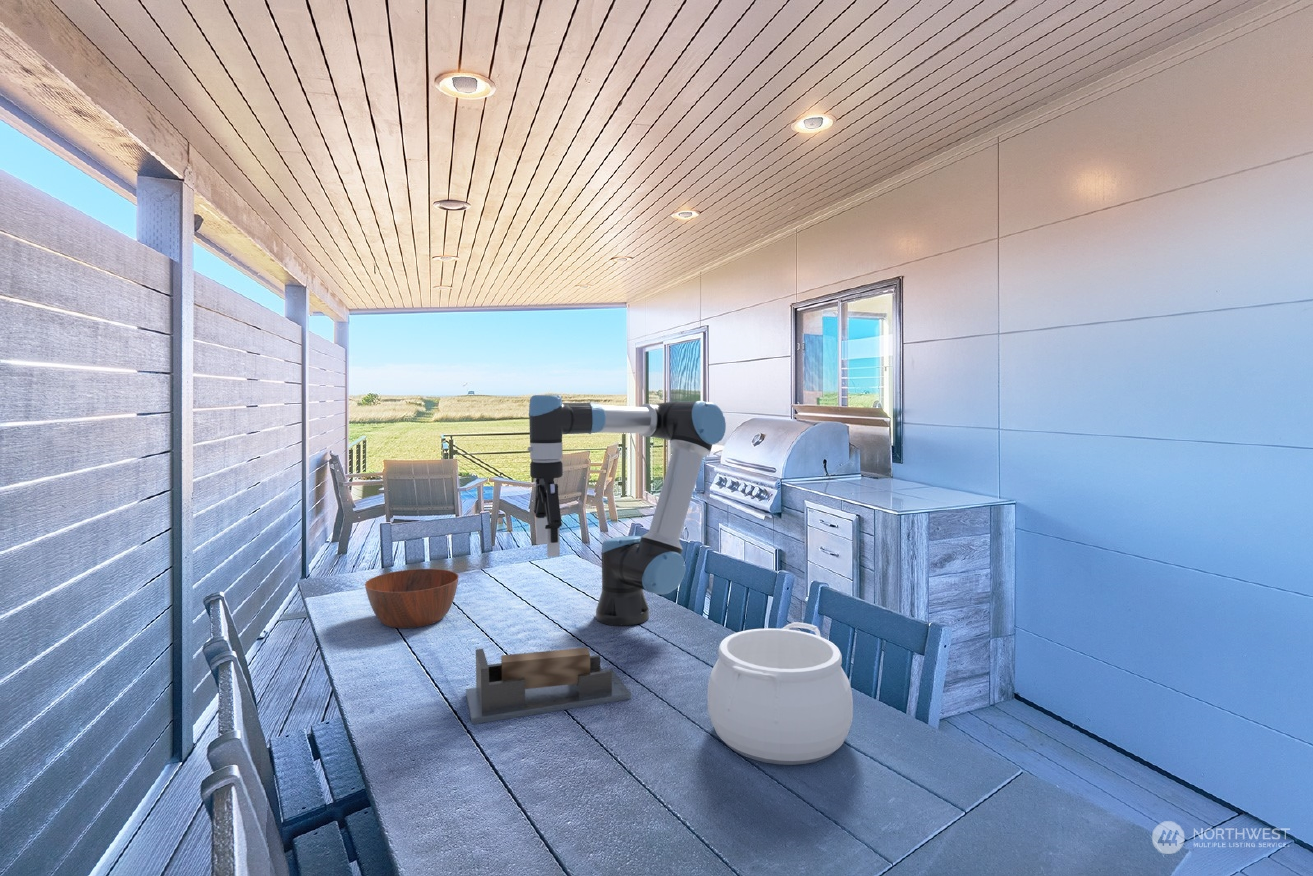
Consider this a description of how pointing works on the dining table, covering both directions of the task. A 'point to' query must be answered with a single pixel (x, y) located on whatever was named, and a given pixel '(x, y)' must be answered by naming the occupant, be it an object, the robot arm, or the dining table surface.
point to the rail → (546, 667)
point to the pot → (780, 695)
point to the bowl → (412, 596)
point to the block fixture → (537, 692)
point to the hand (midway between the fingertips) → (547, 550)
